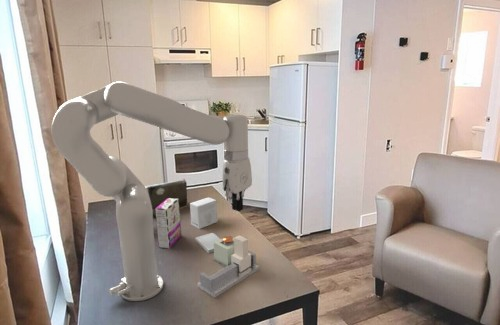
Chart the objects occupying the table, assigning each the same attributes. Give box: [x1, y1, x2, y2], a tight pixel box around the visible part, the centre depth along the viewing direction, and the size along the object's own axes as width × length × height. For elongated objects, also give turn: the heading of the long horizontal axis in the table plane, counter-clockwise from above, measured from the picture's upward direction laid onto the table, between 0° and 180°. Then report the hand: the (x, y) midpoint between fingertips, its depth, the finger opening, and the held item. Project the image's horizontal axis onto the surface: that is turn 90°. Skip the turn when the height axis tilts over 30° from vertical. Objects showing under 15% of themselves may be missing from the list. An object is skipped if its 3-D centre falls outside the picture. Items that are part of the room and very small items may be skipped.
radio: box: [144, 178, 188, 218], centre depth 159 cm, size 23×9×15 cm, turn 129°
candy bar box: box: [155, 198, 182, 249], centre depth 128 cm, size 11×5×16 cm, turn 168°
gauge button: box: [222, 235, 234, 246], centre depth 115 cm, size 4×4×7 cm
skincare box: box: [189, 196, 219, 230], centre depth 145 cm, size 10×6×10 cm, turn 135°
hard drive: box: [194, 232, 221, 254], centre depth 128 cm, size 2×8×12 cm
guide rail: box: [197, 250, 260, 299], centre depth 105 cm, size 20×8×5 cm, turn 137°
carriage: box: [231, 234, 251, 272], centre depth 108 cm, size 5×4×10 cm
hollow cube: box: [213, 237, 235, 268], centre depth 115 cm, size 7×7×7 cm
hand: (237, 209), depth 106 cm, fingers closed
